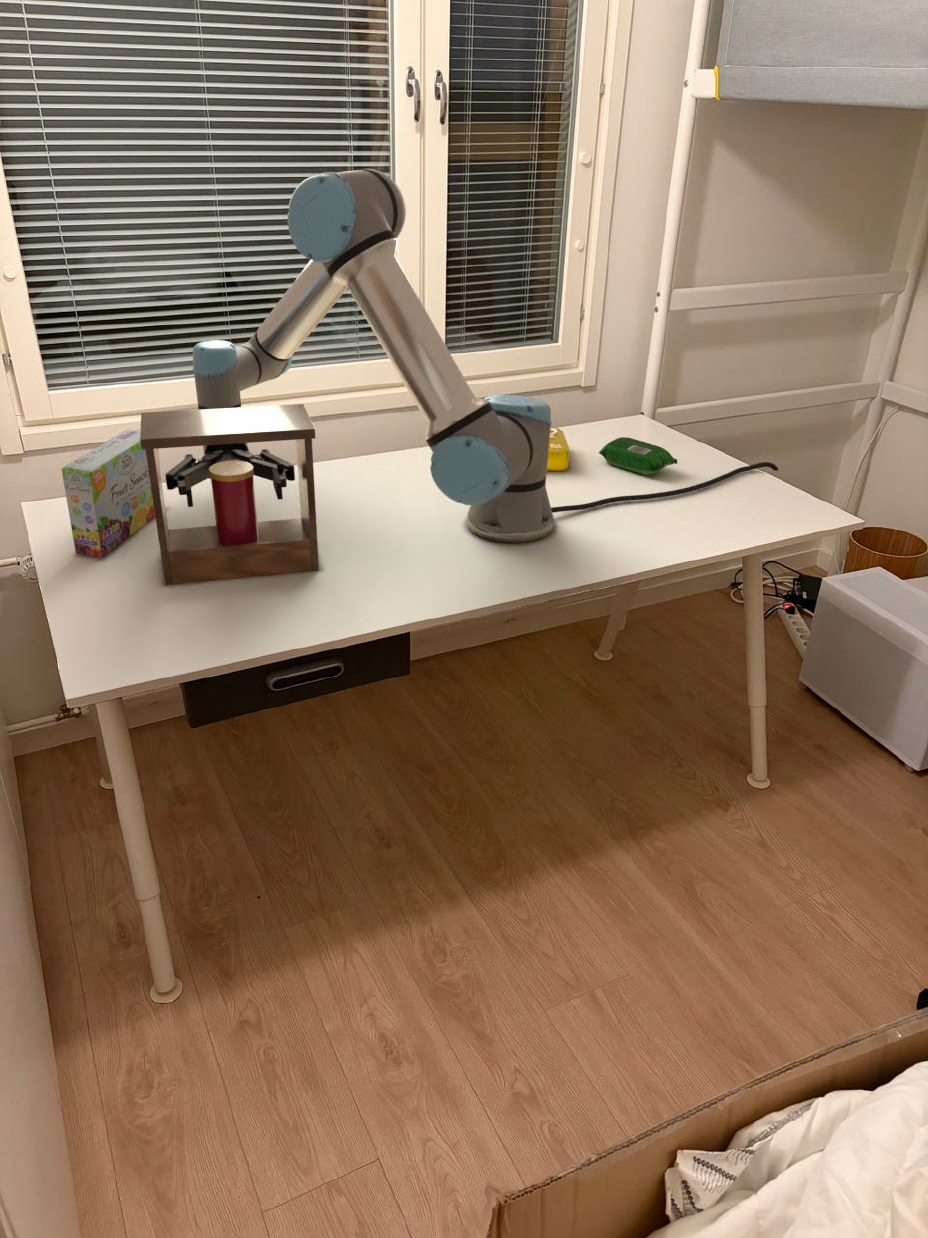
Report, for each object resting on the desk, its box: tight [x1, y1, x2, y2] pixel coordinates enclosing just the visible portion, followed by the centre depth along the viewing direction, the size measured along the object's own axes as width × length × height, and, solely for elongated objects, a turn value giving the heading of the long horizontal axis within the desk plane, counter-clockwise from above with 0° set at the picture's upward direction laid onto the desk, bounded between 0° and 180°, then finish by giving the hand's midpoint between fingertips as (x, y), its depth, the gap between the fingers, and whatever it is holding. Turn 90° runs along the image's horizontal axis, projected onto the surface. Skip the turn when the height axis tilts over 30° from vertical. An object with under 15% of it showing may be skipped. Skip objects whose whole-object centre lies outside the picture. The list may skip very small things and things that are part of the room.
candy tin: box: [209, 460, 259, 545], centre depth 147 cm, size 7×7×12 cm
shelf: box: [140, 403, 320, 586], centre depth 147 cm, size 25×13×24 cm, turn 106°
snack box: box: [60, 428, 162, 559], centre depth 157 cm, size 21×6×15 cm, turn 168°
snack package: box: [598, 436, 678, 476], centre depth 193 cm, size 7×16×5 cm, turn 46°
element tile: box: [547, 427, 570, 472], centre depth 197 cm, size 15×15×5 cm
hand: (235, 495), depth 145 cm, fingers open, 13 cm apart
